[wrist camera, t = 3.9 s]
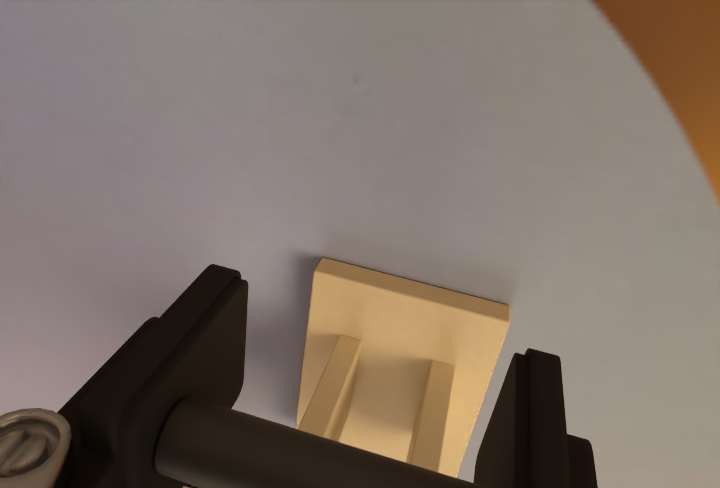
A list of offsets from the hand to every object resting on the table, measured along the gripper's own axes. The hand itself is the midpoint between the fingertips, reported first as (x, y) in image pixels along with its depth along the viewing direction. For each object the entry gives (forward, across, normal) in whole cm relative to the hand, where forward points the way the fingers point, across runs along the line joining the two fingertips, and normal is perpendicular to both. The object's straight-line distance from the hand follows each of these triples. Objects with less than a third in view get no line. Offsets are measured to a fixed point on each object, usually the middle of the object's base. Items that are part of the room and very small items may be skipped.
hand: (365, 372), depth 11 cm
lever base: (+12, 0, +10) cm, 16 cm away
